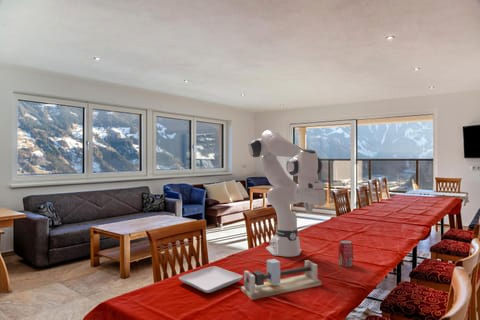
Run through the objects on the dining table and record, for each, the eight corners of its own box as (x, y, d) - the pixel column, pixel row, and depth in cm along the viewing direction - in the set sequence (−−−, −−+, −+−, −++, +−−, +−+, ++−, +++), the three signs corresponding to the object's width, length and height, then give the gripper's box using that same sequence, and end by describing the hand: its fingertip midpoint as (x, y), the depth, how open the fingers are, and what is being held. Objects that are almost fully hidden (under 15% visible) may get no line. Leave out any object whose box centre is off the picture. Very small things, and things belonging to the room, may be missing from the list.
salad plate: (177, 284, 145) (177, 276, 145) (213, 271, 160) (213, 264, 160) (207, 298, 130) (206, 290, 130) (244, 283, 145) (244, 275, 145)
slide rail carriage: (266, 281, 138) (266, 260, 138) (275, 279, 140) (274, 258, 140) (271, 284, 134) (271, 263, 134) (280, 283, 136) (280, 261, 136)
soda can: (341, 261, 171) (341, 239, 171) (355, 264, 166) (355, 241, 166) (336, 265, 165) (336, 242, 165) (350, 268, 161) (349, 244, 161)
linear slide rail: (241, 290, 137) (240, 270, 136) (308, 276, 150) (307, 258, 150) (251, 299, 127) (251, 278, 127) (321, 284, 141) (321, 265, 141)
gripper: (290, 182, 162) (291, 210, 162) (316, 185, 143) (316, 216, 143) (301, 181, 164) (301, 209, 165) (327, 185, 146) (328, 215, 146)
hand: (308, 212), depth 154 cm, fingers closed
